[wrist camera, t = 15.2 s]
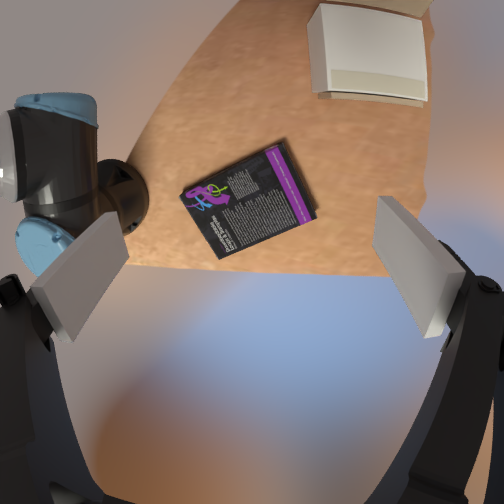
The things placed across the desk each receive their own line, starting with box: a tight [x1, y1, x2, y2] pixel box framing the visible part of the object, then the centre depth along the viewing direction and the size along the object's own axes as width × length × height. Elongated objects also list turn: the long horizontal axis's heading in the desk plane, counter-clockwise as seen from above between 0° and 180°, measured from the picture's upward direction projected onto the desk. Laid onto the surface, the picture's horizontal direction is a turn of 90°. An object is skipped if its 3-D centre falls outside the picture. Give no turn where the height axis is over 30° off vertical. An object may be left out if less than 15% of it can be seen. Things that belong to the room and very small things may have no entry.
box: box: [179, 142, 317, 260], centre depth 48 cm, size 14×4×20 cm
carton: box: [307, 3, 427, 108], centre depth 31 cm, size 14×13×12 cm
